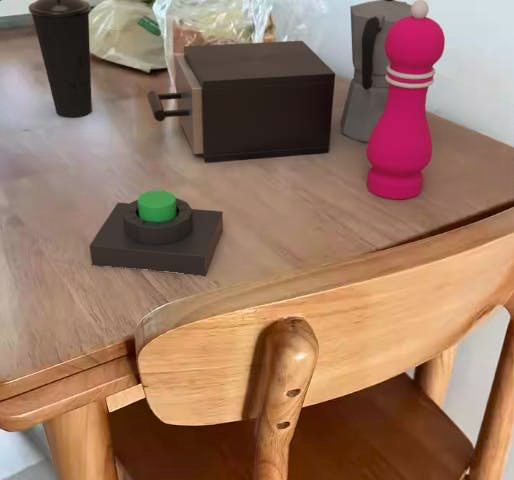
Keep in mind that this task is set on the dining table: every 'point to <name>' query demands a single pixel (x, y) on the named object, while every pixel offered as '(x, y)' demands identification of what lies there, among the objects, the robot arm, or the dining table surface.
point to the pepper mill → (405, 107)
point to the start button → (157, 206)
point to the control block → (158, 240)
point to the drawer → (183, 104)
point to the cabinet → (263, 100)
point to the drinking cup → (65, 52)
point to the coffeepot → (369, 65)
